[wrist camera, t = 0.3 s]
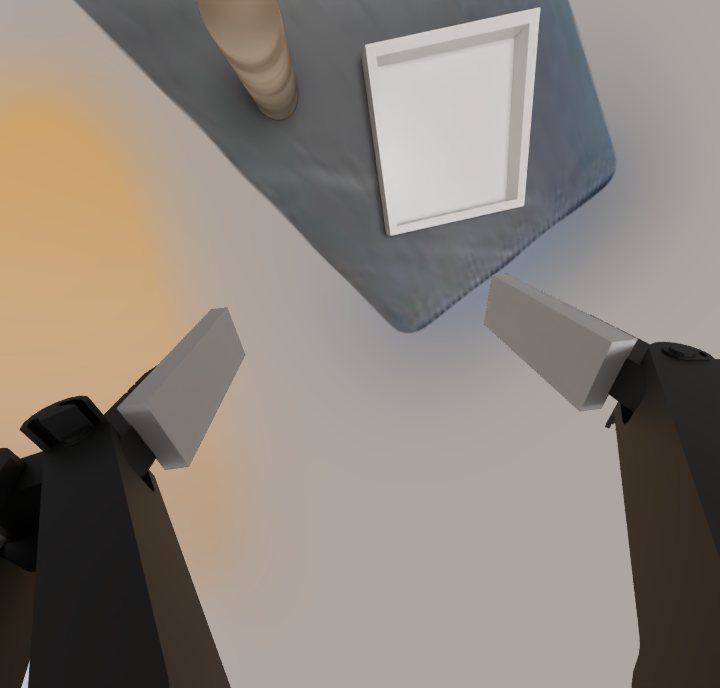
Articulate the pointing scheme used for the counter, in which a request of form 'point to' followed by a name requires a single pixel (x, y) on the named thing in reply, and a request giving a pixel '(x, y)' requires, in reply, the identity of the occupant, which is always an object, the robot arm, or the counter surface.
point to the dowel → (255, 50)
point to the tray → (452, 119)
